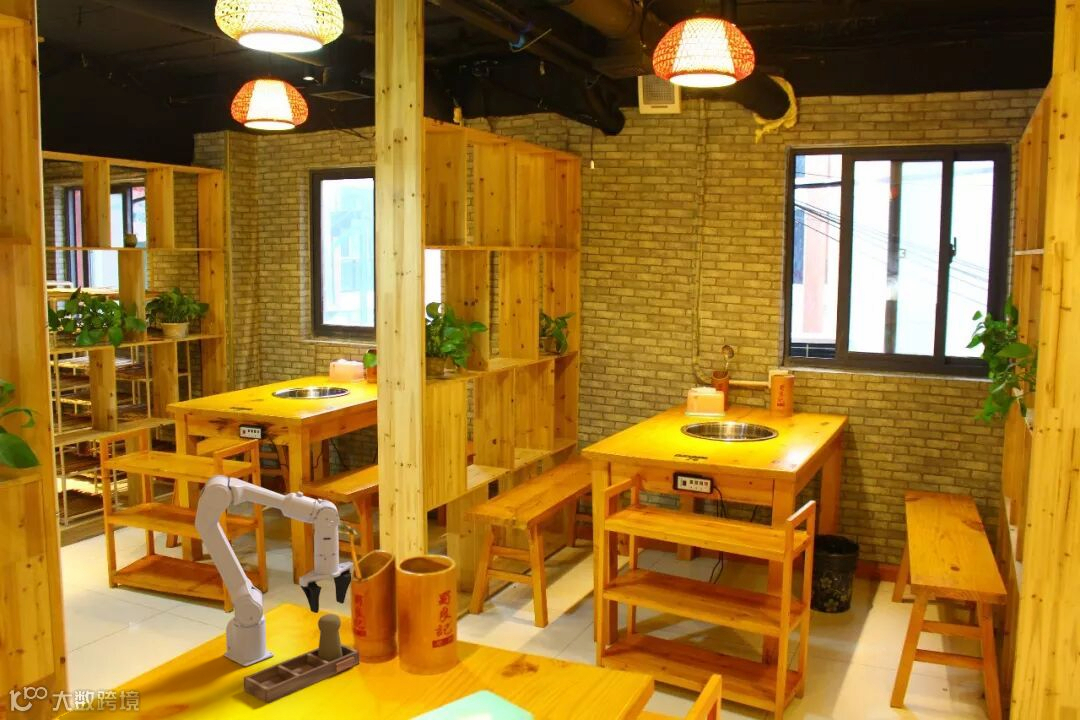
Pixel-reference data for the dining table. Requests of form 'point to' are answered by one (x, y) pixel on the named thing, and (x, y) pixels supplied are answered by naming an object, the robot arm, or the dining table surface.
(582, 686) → the dining table surface
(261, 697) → the spice rack
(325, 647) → the pepper mill
